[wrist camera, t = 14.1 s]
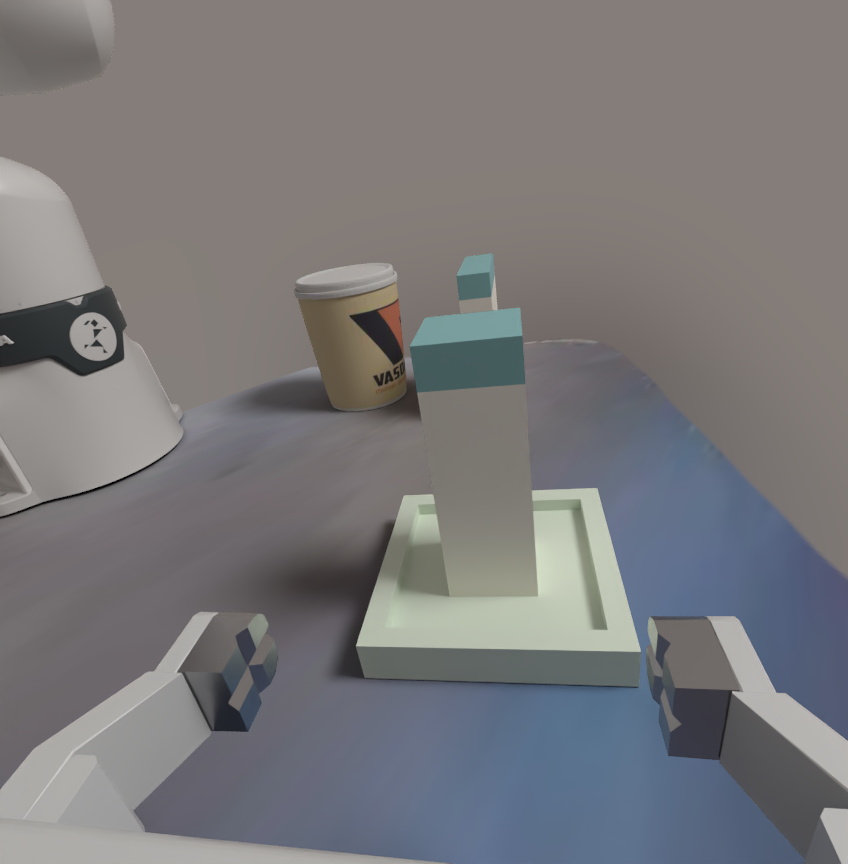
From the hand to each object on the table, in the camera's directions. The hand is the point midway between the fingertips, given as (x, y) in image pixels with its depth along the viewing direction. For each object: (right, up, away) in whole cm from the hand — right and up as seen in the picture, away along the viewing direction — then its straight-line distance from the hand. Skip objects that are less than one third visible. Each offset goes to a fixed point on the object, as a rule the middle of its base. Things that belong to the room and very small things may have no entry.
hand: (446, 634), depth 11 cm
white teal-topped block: (+3, -2, +14) cm, 15 cm away
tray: (+3, -3, +15) cm, 16 cm away
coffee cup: (-6, +8, +41) cm, 42 cm away
